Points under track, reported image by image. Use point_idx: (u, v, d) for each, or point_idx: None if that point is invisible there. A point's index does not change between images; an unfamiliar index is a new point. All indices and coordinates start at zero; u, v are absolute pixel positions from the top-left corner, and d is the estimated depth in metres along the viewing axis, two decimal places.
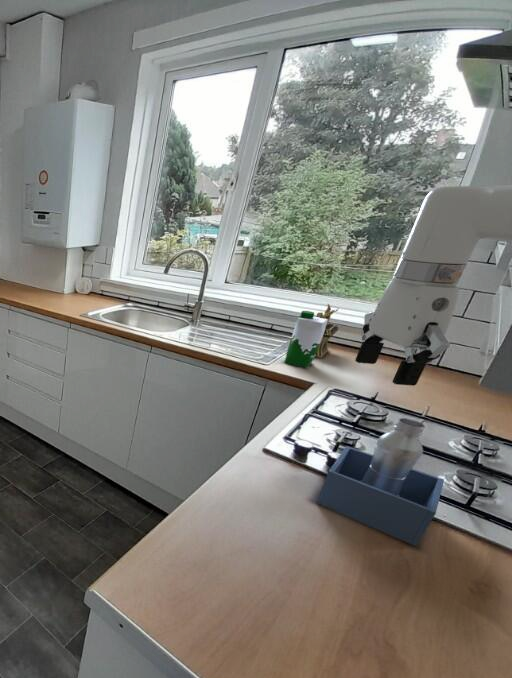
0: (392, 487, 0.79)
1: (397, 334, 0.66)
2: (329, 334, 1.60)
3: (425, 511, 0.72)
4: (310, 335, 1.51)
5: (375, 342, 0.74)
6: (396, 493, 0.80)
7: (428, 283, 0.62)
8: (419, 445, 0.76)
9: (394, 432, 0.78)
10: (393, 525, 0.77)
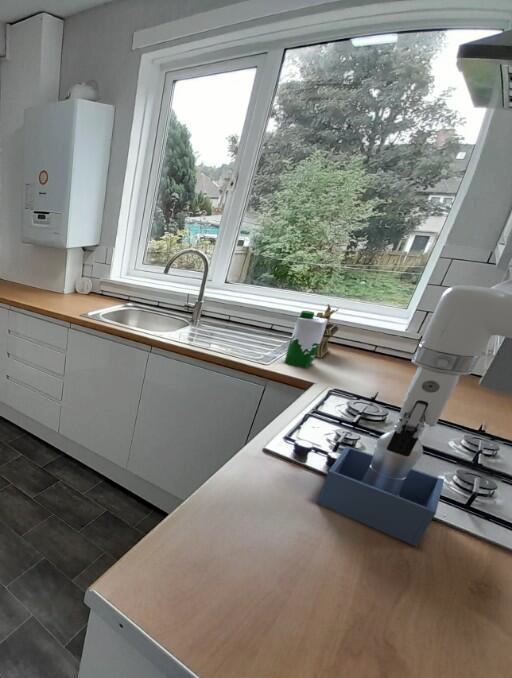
0: (392, 486, 0.79)
1: None
2: (329, 334, 1.60)
3: (425, 511, 0.72)
4: (310, 335, 1.51)
5: None
6: (396, 493, 0.80)
7: (425, 366, 0.70)
8: (419, 445, 0.76)
9: None
10: (393, 525, 0.77)
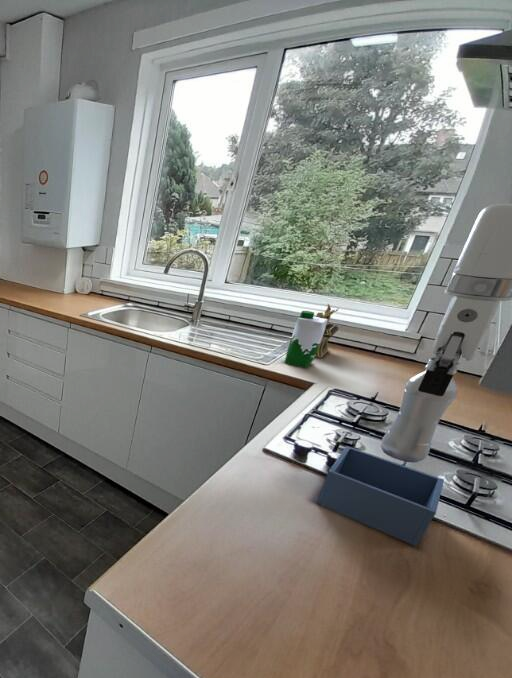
0: (424, 432, 0.74)
1: None
2: (329, 334, 1.60)
3: (425, 511, 0.72)
4: (310, 335, 1.51)
5: None
6: (428, 439, 0.74)
7: (460, 294, 0.65)
8: (453, 384, 0.70)
9: (425, 372, 0.73)
10: (393, 525, 0.77)
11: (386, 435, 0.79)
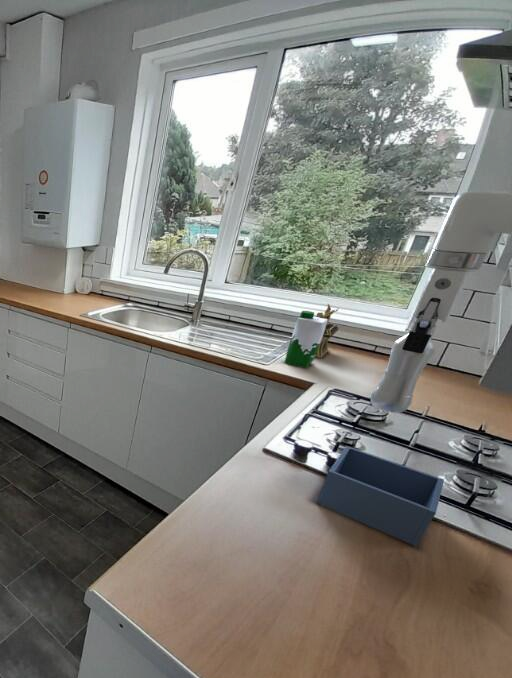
0: (407, 385, 0.88)
1: None
2: (329, 334, 1.60)
3: (425, 511, 0.72)
4: (310, 335, 1.51)
5: None
6: (410, 392, 0.88)
7: (438, 267, 0.79)
8: (431, 344, 0.84)
9: None
10: (393, 525, 0.77)
11: (375, 390, 0.93)
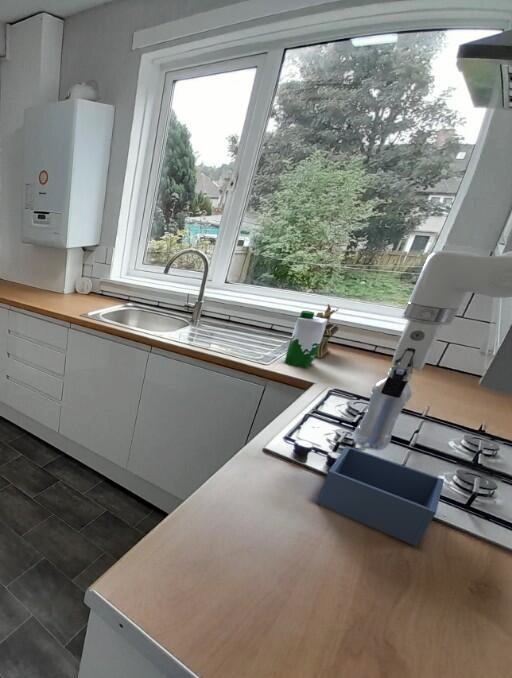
0: (386, 426, 0.93)
1: None
2: (329, 334, 1.60)
3: (425, 511, 0.72)
4: (310, 335, 1.51)
5: None
6: (389, 432, 0.94)
7: (413, 319, 0.84)
8: (408, 388, 0.90)
9: None
10: (393, 525, 0.77)
11: (357, 428, 0.98)
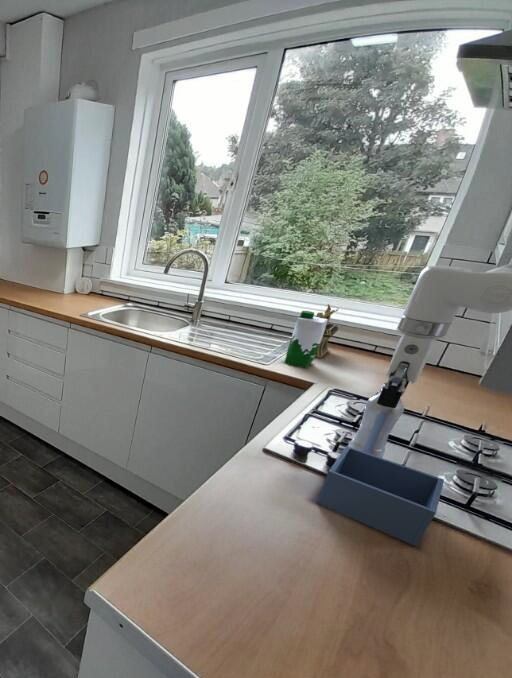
0: (379, 440, 0.95)
1: None
2: (329, 334, 1.60)
3: (425, 511, 0.72)
4: (310, 335, 1.51)
5: None
6: (382, 446, 0.95)
7: (407, 333, 0.85)
8: (401, 404, 0.91)
9: None
10: (393, 525, 0.77)
11: (351, 442, 1.00)
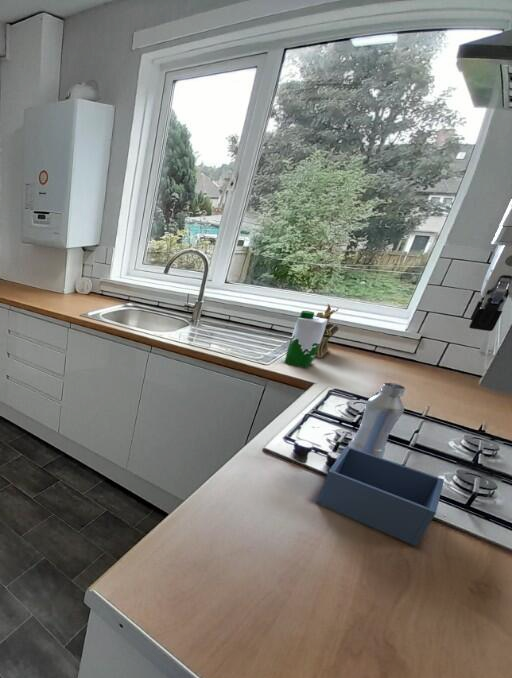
0: (379, 440, 0.95)
1: (482, 287, 0.81)
2: (329, 334, 1.60)
3: (425, 511, 0.72)
4: (310, 335, 1.51)
5: None
6: (382, 446, 0.95)
7: (507, 243, 0.77)
8: (401, 404, 0.91)
9: (380, 394, 0.93)
10: (393, 525, 0.77)
11: (351, 442, 1.00)
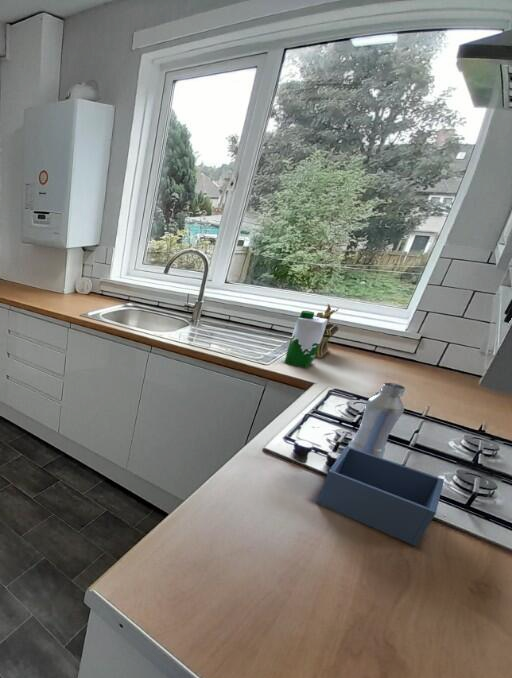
0: (379, 440, 0.95)
1: None
2: (329, 334, 1.60)
3: (425, 511, 0.72)
4: (310, 335, 1.51)
5: None
6: (382, 446, 0.95)
7: None
8: (401, 404, 0.91)
9: (380, 394, 0.93)
10: (393, 525, 0.77)
11: (351, 442, 1.00)
